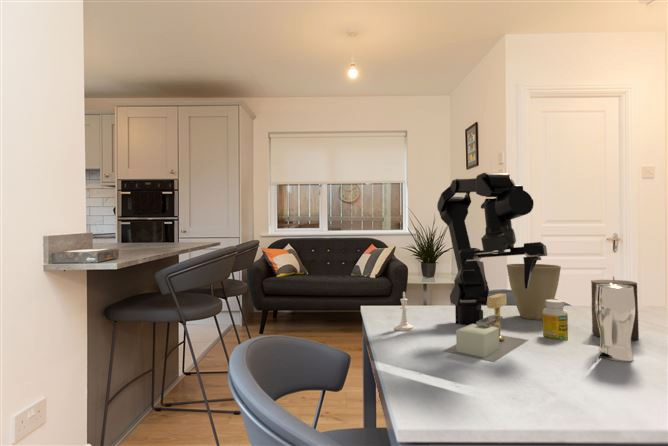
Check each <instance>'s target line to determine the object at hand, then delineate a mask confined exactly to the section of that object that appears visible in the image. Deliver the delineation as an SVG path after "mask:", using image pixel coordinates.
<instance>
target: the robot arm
mask: <svg viewBox="0 0 668 446" xmlns="http://www.w3.org/2000/svg"><path fill="white" fill-rule="evenodd" d="M471 193H475V194H476V195H478V196H480V197H485V199H484V201H483V202H482V203H481V205H480V208H481V209H482V210H483V209H484V218H485V219H484V220H485V234H484V235H483V236H482V237H481V238H480V240H481V245H482V249H480V248H476V247H472V246H471V242H470V238H469V234H468V230H467V225H466V220H467V219H466V218H467V216H468V214H469V207H470V205H471V203H472V199H471V196H470V194H471ZM456 194H465V195H464V196H455V195H456ZM534 203H535V201H534V199H533V198H532V196H531V194H530V193H528V192H527V191H525V190H524V186H523V185H522V184H519V185H518V184H516V183H515V181H514V180H513V178H511V177H510V174H509V173H507V172H482V173H480V174H477V176H476V177H475V178H455V179H452V181H451V183H450V185H449V187H447V188H446V189H445V190H443V192H442V193H441V194H440V196H439V198H438V201H437V205H436V206H437V207H436V208H437V211H438V213H439V216H440V219H441V220H442V222H443V223H445V224H446V225H447V226H448V230H449V235H450V240H451V244H452V248H453V249H452V250H453V253H454V258H455V264H456V268H457V272H456V276H455V278H454V279H453V281H454V282H453V283H454V286H453V288H452V290H451V292H450V295H449V299H450V304H452V305H455V315H454V316H455V322H454V324H456V325H462V326H468V325H470V324H476V321H479V320H481V319H484V310H483V309H482V306H486V305H487V297H489V293H490V292H489V291H490V289H489V285H488V281H487V278H486V272H485V265H484V261H481V259H482V258H495V257H509V256H522V255H525V256H523V257H522V258H523V264H524V283H525V289H528V286H529V282H530V279H531V275H532V271H533V269H534V267H535V264H537V262H538V261H542V257H546V256H548V249H547V245H545V244H544V243H543V242H541V241H536V242H525V243H523V246H518V247H517V246H516V247H515V244H516V243H517V239H516V232H515V230H514V228H513V227H512V226H513V223H512V220H514V219H517V218H521V217H522V216H525V215H528V214H530V213H531V212H532V211H533V208H534ZM506 250H509V251H506Z"/></svg>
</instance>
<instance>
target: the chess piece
mask: <svg viewBox="0 0 668 446" xmlns="http://www.w3.org/2000/svg"><path fill="white" fill-rule="evenodd" d="M408 300H409V299H408V298H406V292H405V291H403V292H402V298H400V303H401V306H400V310H401V311H402V312H401V319H400V320H401V321H400V322H399V323H398V324H396V325H395V328H394V329H395V330H397V331H402V332H409V331H413V330H414V326H413V325H412V324H410V323H409V322H408V319H407V317H408V316H407V310H409V308H408V307H407V304H408Z"/></svg>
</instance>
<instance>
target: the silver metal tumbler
mask: <svg viewBox="0 0 668 446" xmlns="http://www.w3.org/2000/svg"><path fill="white" fill-rule="evenodd" d="M633 288H634V287H633V286H628V285H620V284H597V285H596V294H595V310H596V317H597V321H598V326H599V331H600V337H599V338H600V342H599V348H598V351H600V352H601V353H600V354H599V356H598V357H600V358H602V359H605V360H608V361H614V362H622V363H623V362H626V363H627V362H631V361H634V353H633V350H632V343H631V342H632V341H631V334H632V329H633V324H634V318H635V298H634V289H633Z"/></svg>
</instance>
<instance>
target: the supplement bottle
mask: <svg viewBox="0 0 668 446" xmlns="http://www.w3.org/2000/svg"><path fill="white" fill-rule="evenodd" d="M545 305H546V306H547V308H545V309H544V310H543V320H542V336H543V339H549V340H556V341H560V342H561V341H563V342H568V341H569V329H568V328H569V326H568V325H569V324H568V321H569V320H568V318H569V316H568V311H567V310H566V309H564V307H565V301H564V300H561V299H554V300H546V301H545Z"/></svg>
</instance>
